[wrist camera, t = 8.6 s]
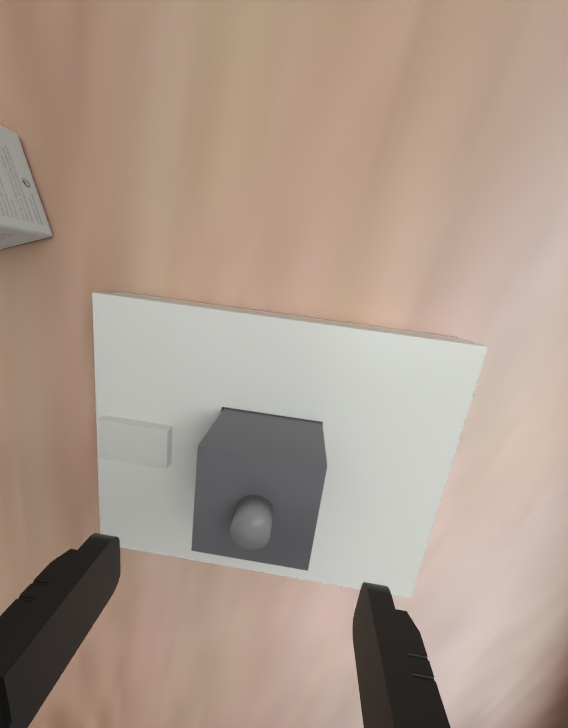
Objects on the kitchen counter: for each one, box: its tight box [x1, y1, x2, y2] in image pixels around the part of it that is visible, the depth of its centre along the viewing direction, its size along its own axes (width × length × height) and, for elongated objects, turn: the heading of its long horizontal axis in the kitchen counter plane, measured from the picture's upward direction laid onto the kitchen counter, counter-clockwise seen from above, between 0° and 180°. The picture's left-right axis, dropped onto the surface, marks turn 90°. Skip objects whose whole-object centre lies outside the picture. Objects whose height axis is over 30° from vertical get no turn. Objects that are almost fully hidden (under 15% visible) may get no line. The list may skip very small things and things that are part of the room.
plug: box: [191, 407, 327, 571], centre depth 16 cm, size 5×5×8 cm
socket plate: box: [92, 292, 488, 598], centre depth 18 cm, size 16×20×4 cm
